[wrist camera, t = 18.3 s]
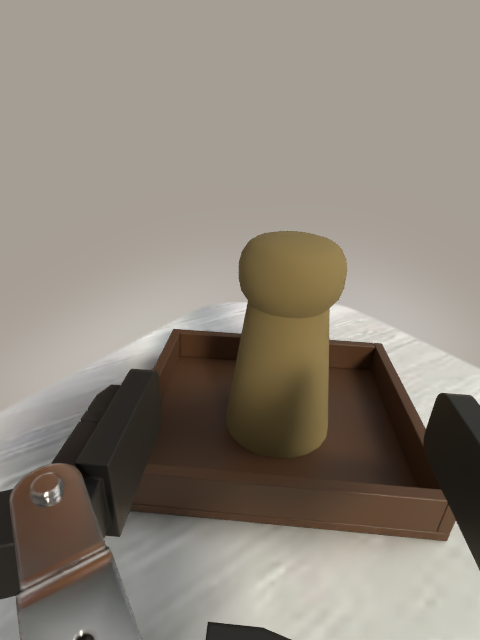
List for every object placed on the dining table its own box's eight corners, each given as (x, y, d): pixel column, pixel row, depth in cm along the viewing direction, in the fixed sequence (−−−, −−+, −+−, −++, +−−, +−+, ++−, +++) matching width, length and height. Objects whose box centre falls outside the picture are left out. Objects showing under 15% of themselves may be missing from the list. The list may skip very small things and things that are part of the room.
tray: (108, 509, 18) (101, 469, 16) (174, 357, 29) (173, 328, 28) (447, 541, 17) (464, 502, 16) (375, 372, 29) (381, 343, 27)
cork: (347, 421, 23) (386, 238, 18) (284, 478, 19) (312, 264, 14) (270, 377, 26) (284, 216, 22) (204, 418, 23) (203, 232, 18)
